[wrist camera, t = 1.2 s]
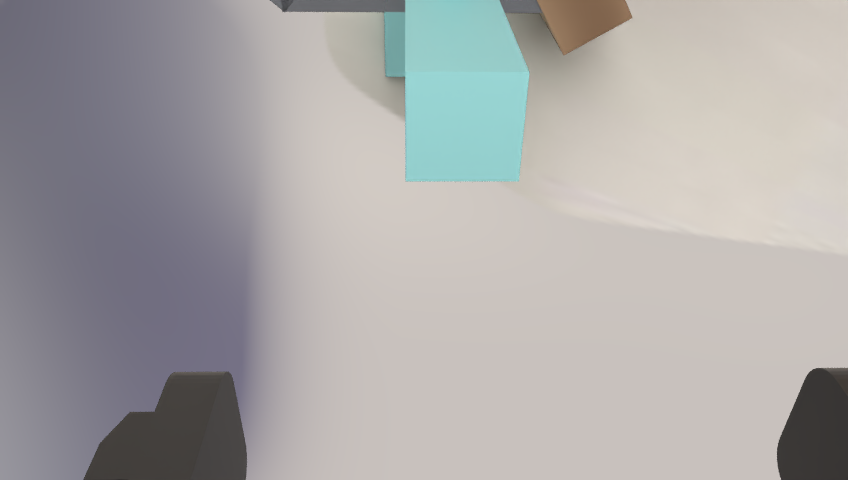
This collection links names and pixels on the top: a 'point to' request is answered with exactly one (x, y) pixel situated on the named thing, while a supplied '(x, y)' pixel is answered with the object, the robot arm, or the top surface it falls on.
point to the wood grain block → (581, 19)
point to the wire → (384, 6)
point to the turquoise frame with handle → (458, 89)
